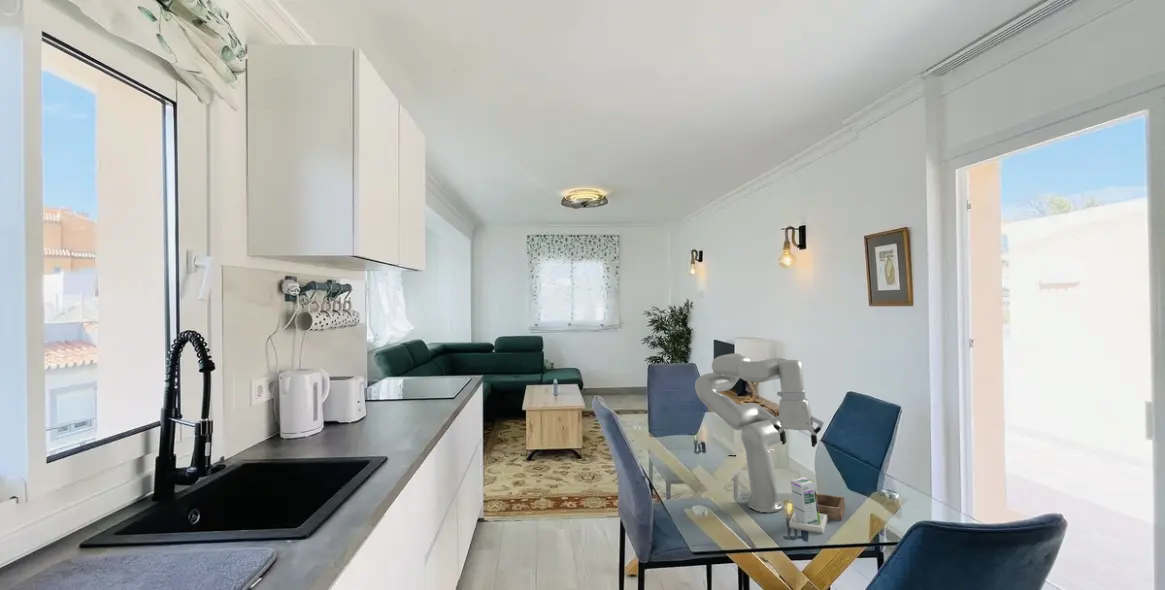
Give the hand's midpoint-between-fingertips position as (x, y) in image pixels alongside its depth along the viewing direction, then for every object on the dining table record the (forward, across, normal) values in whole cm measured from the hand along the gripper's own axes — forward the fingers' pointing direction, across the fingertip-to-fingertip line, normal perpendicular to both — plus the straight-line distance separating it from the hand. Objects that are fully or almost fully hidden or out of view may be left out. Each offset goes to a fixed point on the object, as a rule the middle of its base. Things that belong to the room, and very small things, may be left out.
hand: (798, 444), depth 166 cm
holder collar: (+28, +4, +12) cm, 30 cm away
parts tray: (+28, 0, 0) cm, 28 cm away
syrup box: (+27, 0, 0) cm, 27 cm away
